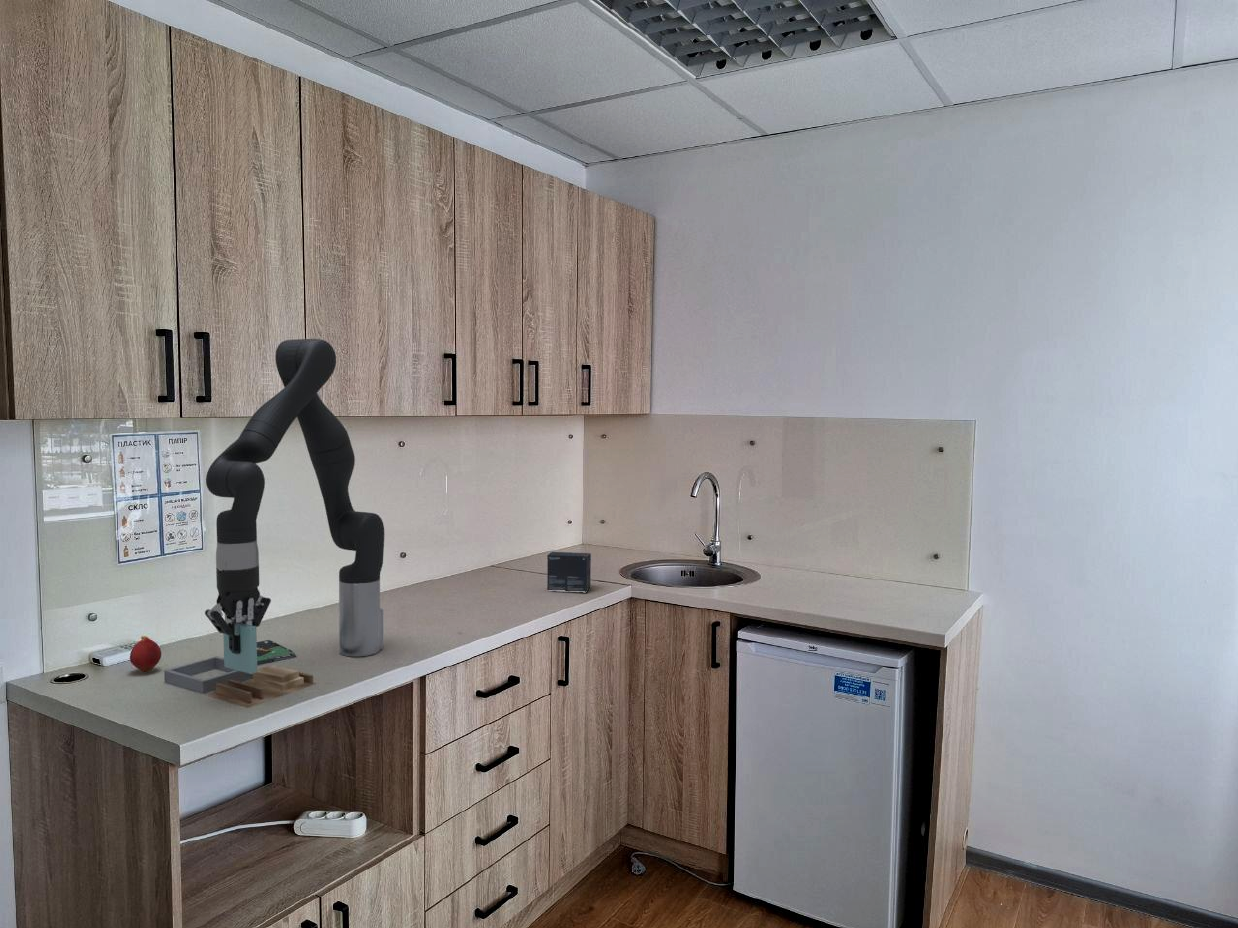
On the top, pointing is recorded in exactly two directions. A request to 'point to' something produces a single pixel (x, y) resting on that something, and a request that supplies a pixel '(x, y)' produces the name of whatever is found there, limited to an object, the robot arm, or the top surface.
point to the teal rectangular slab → (242, 651)
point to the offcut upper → (276, 674)
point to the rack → (253, 691)
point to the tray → (185, 673)
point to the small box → (568, 571)
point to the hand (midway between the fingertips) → (240, 651)
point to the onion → (145, 654)
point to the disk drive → (272, 652)
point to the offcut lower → (278, 685)
